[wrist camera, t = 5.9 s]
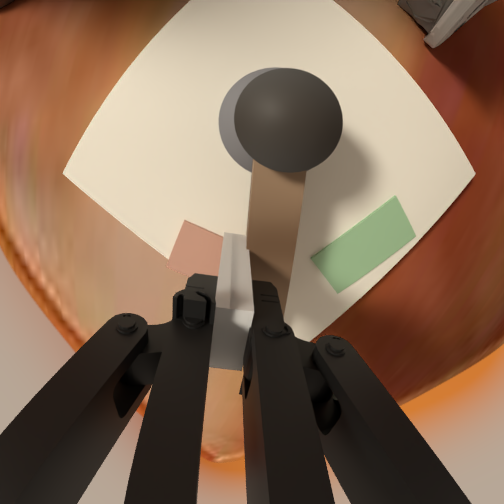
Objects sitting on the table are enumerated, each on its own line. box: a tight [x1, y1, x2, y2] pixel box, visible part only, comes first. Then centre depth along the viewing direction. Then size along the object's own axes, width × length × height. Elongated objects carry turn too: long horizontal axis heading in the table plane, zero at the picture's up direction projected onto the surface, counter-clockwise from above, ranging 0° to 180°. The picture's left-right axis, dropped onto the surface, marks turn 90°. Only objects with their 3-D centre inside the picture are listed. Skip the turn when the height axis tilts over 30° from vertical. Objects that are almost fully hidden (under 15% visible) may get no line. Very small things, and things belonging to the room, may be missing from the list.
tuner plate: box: [63, 0, 475, 342], centre depth 15 cm, size 20×18×2 cm
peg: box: [234, 68, 343, 318], centre depth 14 cm, size 14×4×4 cm, turn 175°
